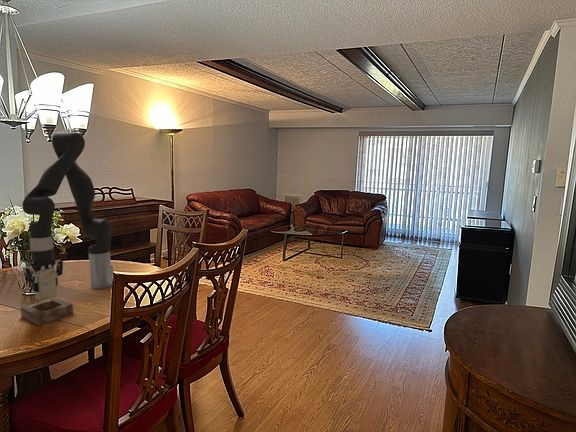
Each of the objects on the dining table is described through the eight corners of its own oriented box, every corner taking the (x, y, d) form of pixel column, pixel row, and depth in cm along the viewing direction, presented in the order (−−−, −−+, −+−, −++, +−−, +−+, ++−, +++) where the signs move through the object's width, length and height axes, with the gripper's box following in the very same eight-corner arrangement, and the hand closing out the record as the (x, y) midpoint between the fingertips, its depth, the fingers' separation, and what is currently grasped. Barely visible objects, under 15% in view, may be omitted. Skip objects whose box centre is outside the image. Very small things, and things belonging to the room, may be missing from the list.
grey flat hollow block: (55, 306, 161) (54, 297, 161) (73, 313, 155) (72, 304, 154) (21, 317, 150) (20, 307, 150) (39, 325, 144) (38, 315, 143)
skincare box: (41, 301, 148) (38, 271, 146) (35, 299, 150) (32, 269, 148) (57, 296, 153) (55, 267, 151) (51, 294, 155) (48, 265, 153)
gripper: (55, 243, 156) (58, 282, 159) (16, 250, 144) (20, 292, 147) (66, 245, 152) (69, 285, 155) (27, 253, 140) (31, 296, 143)
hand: (45, 289), depth 151 cm, fingers closed on skincare box, 6 cm apart
